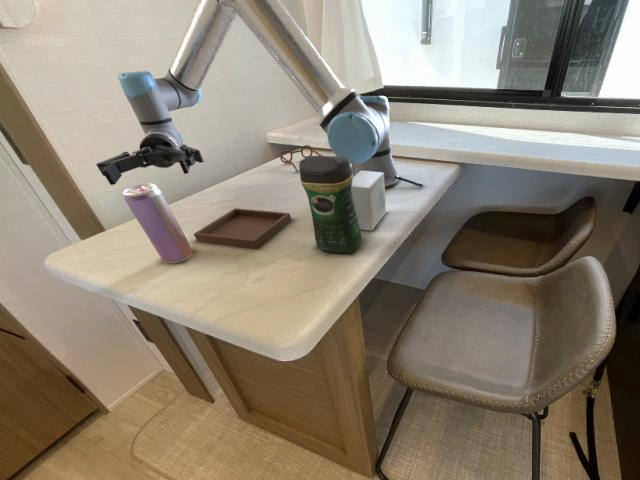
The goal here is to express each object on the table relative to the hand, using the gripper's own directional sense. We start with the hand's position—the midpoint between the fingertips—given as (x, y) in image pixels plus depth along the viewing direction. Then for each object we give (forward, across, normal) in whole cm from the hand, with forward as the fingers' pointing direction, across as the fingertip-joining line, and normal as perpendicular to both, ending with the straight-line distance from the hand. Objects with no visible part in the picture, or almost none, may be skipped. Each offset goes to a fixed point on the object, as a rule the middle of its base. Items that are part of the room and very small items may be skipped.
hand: (147, 172), depth 66 cm
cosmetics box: (+13, -43, -15) cm, 47 cm away
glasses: (-43, -38, -16) cm, 60 cm away
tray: (+4, -14, -15) cm, 21 cm away
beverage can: (+10, 0, -16) cm, 18 cm away
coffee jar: (+22, -33, -15) cm, 43 cm away
